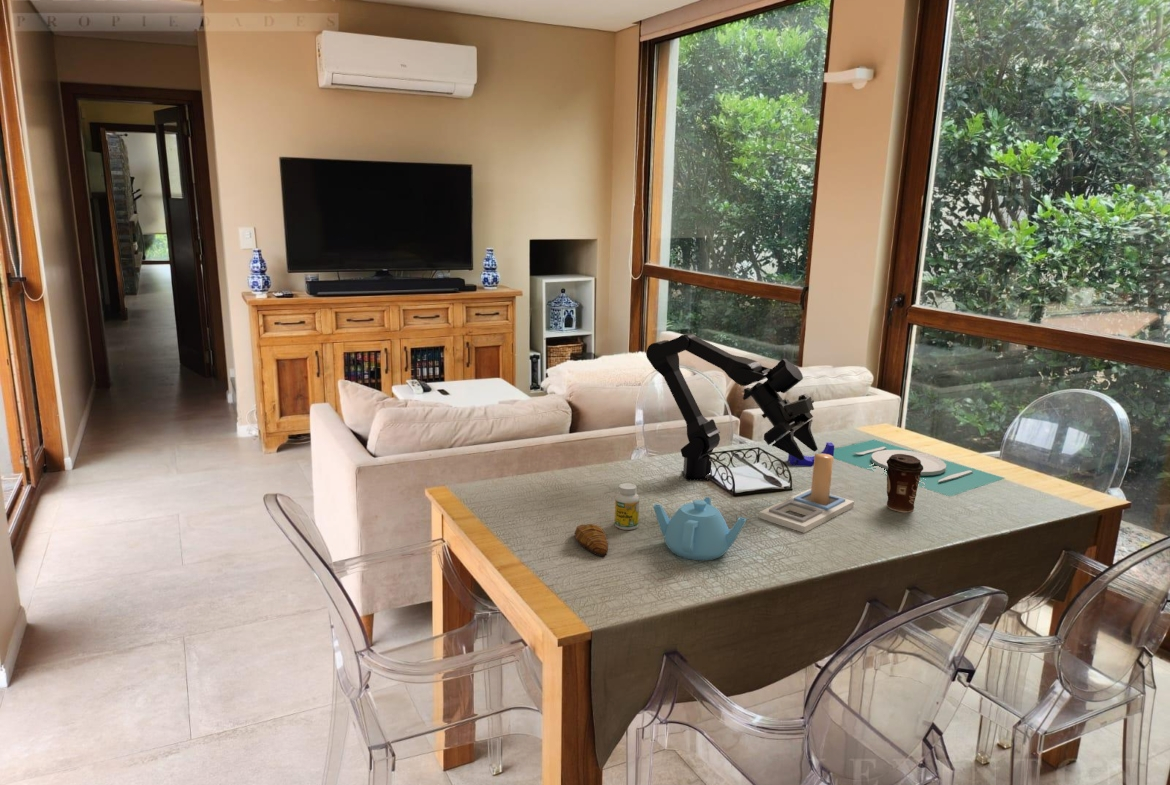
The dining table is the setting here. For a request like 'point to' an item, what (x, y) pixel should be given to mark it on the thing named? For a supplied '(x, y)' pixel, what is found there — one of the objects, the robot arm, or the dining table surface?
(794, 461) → the blue cradle holder
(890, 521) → the dining table surface
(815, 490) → the orange plug
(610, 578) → the dining table surface
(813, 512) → the socket tray
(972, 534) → the dining table surface
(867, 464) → the place mat
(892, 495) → the coffee cup
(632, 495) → the supplement bottle
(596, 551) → the croissant
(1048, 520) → the dining table surface
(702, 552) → the teapot
